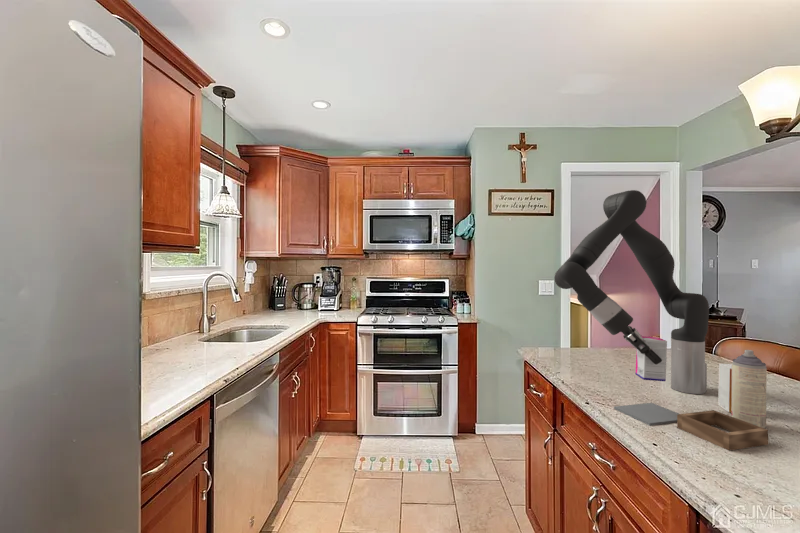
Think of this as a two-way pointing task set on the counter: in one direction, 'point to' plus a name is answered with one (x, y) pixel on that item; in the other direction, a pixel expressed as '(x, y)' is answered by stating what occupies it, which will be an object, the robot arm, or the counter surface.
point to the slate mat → (649, 413)
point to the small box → (725, 387)
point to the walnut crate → (736, 439)
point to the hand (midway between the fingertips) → (657, 359)
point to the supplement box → (646, 366)
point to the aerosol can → (749, 389)
